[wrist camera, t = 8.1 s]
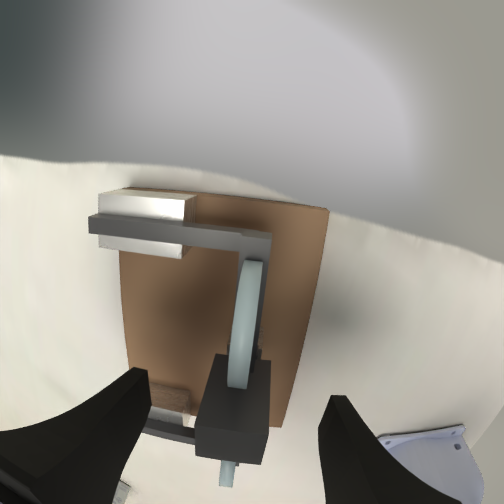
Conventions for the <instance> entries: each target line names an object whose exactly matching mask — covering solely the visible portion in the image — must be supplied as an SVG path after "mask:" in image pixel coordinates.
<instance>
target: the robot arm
mask: <svg viewBox="0 0 504 504" xmlns="http://www.w3.org/2000/svg"><path fill="white" fill-rule="evenodd" d="M151 406H152V401H151V394H150V386H149V378H148V370H145V369H141V368H137V367H132V368H131V369H130V370H128V371H127V372H126V373H124V374H123V375H122V376H120V377H119V378H118V379H116V380H115V381H114V382H112V383H111V384H110V385H108V386H107V387H106V388H104V389H103V390H101V391H100V392H99V393H97V394H96V395H94V396H93V397H91V398H89V399H88V400H86V401H85V402H83V403H81V404H80V405H78V406H76V407H75V408H73V409H71V410H69V411H67V412H65V413H63V414H61V415H58V416H56V417H54V418H51V419H48V420H46V421H43V422H40V423H37V424H34V425H30V426H27V427H23V428H18V429H13V430H7V431H0V504H112V503H113V499H114V496H115V493H116V489H117V486H118V483H119V480H120V477H121V474H122V471H123V469H124V467H125V464H126V462H127V460H128V458H129V456H130V454H131V452H132V450H133V448H134V446H135V444H136V442H137V440H138V438H139V436H140V434H141V432H142V430H143V428H144V426H145V424H146V421H147V418H148V415H149V412H150V409H151ZM465 429H466V428H465V426H464V425H460V426H456V427H450V428H445V429H439V430H433V431H427V432H420V433H412V434H404V435H394V436H383V437H380V438H378V439H377V438H376V437H375V435H374V434H373V433H372V432H371V430H370V429H369V428H368V426H367V425H366V424H365V422H364V421H363V420H362V418H361V417H360V415H359V414H358V412H357V411H356V410H355V408H354V407H353V405H352V404H351V402H350V401H349V399H348V398H347V397H346V395H331V396H330V399H329V402H328V404H327V407H326V409H325V412H324V414H323V417H322V419H321V422H320V424H319V427H318V444H319V455H320V462H321V468H322V475H323V482H324V489H325V498H326V504H480V503H481V501H482V499H483V494H484V481H483V477H482V475H481V472H480V470H479V468H478V466H477V464H476V462H475V460H474V458H473V456H472V454H471V452H470V450H469V448H468V446H467V444H466V442H465V440H464V438H463V436H462V433H463V432H464V431H465Z"/></svg>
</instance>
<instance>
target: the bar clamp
mask: <svg viewBox="0 0 504 504" xmlns="http://www.w3.org/2000/svg"><path fill="white" fill-rule="evenodd" d="M88 225H89V233H91V234H99V235H107V236H115V237H123V238H131V239H139V240H147V241H155V242H163V243H172V244H180V245H188V246H196V247H204V248H212V249H220V250H228V251H236V252H240V253H239V263H238V273H237V284H236V294H235V305H234V315H233V326H232V334H231V343H230V352H229V355H224V354H217V353H216V354H215V357H214V360H213V364H212V367H211V370H210V374H209V377H208V380H207V384H206V387H205V390H204V394H203V397H202V401H201V404H200V407H199V411H198V414H197V417H196V421H195V424H194V428H190V427H185V426H181V425H176V424H172V423H167V422H163V421H159V420H155V419H151V418H147V421H146V424H145V426H144V428H143V430H142V433H146V434H149V435H153V436H157V437H161V438H165V439H169V440H173V441H178V442H182V443H187V444H192V445H195V455H196V456H200V457H205V458H211V459H217V460H221V468H220V477H219V486H223V487H230V488H232V486H233V479H234V472H235V466H239V463H247V464H257V465H261V462H262V458H263V455H264V451H265V447H266V443H267V439H268V435H269V413H270V384H271V360H262V359H257V357H258V348H259V345H258V338H259V331H260V324H261V317H262V310H263V303H264V296H265V288H266V281H267V273H268V266H269V258H270V251H271V243H272V233H269V232H261V231H259V230H252V229H243V228H235V227H226V226H217V225H208V224H199V223H190V222H181V221H171V220H162V219H152V218H142V217H132V216H121V215H111V214H100V213H98V214H95V215H92V216H89V217H88Z"/></svg>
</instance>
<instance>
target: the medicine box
mask: <svg viewBox="0 0 504 504" xmlns="http://www.w3.org/2000/svg"><path fill="white" fill-rule="evenodd" d="M129 489H130V487H129V486H128V485H126V484H125V483H123V482H122V481H120V480H119V483H118V486H117V489H116V493H115V496H114V499H113V503H112V504H124V503H125V500H126V498H127V495H128V492H129Z"/></svg>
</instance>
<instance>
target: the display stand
mask: <svg viewBox="0 0 504 504" xmlns="http://www.w3.org/2000/svg"><path fill="white" fill-rule="evenodd" d="M98 213H100V214H111V215H121V216H132V217H142V218H152V219H162V220H171V221H181V222H190V223H199V224H208V225H217V226H226V227H235V228H243V229H252V230H259V231H261V232H269V233H272V243H271V251H270V258H269V266H268V273H267V281H266V288H265V296H264V303H263V310H262V317H261V324H260V331H259V338H258V345H259V348H258V357H257V359H262V360H271V384H270V413H269V427H280V428H281V427H282V424H283V420H284V417H285V413H286V410H287V406H288V403H289V399H290V395H291V392H292V388H293V384H294V380H295V377H296V373H297V369H298V365H299V361H300V357H301V353H302V348H303V344H304V340H305V336H306V331H307V327H308V323H309V318H310V314H311V309H312V304H313V300H314V295H315V290H316V285H317V280H318V275H319V270H320V264H321V259H322V254H323V248H324V242H325V237H326V231H327V225H328V219H329V213H330V211H329V210H327V209H326V208H321V207H315V206H308V205H300V204H293V203H286V202H278V201H270V200H262V199H254V198H245V197H236V196H227V195H218V194H208V193H197V192H186V191H175V190H162V189H149V188H134V187H127V188H122V189H118V190H113V191H109V192H104V193H100V194H99V195H98ZM99 247H101V248H107V249H114V250H119V264H120V285H121V300H122V312H123V322H124V332H125V341H126V349H127V356H128V363H129V370H130V369H131V368H132V367H137V368H141V369H145V370H148V378H149V386H150V394H151V401H152V406H151V409H150V412H149V415H148V418H151V419H155V420H159V421H163V422H167V423H172V424H176V425H181V426H185V427H187V426H188V423H189V419H190V416H191V415H192V416H197V414H198V411H199V407H200V404H201V401H202V397H203V394H204V390H205V387H206V384H207V380H208V377H209V374H210V370H211V367H212V364H213V360H214V357H215V354H216V353H217V354H224V355H229V352H230V343H231V334H232V326H233V315H234V305H235V294H236V284H237V273H238V263H239V253H240V252H236V251H228V250H220V249H212V248H204V247H196V246H188V245H180V244H172V243H163V242H155V241H147V240H139V239H131V238H123V237H115V236H107V235H99Z"/></svg>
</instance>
